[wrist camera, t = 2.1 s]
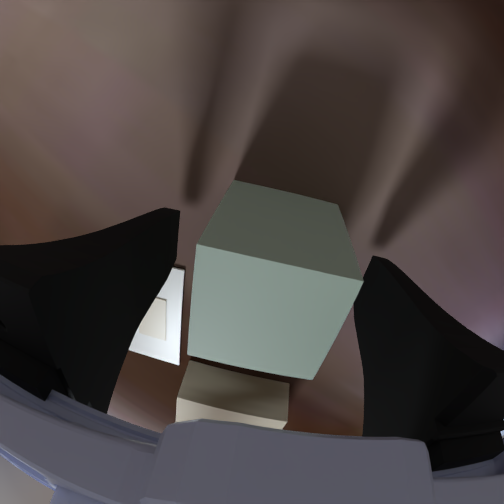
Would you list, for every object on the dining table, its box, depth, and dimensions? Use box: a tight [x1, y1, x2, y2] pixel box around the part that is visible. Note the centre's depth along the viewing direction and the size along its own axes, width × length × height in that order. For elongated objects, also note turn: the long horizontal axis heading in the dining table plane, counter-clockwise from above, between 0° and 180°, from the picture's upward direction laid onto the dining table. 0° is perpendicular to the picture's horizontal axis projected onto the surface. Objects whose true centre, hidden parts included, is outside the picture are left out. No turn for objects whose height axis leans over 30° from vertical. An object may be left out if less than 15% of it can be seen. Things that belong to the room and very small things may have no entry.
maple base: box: [176, 360, 289, 430], centre depth 17 cm, size 6×6×3 cm
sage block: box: [187, 180, 364, 380], centre depth 10 cm, size 4×4×5 cm
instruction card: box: [129, 267, 185, 365], centre depth 15 cm, size 5×7×1 cm
